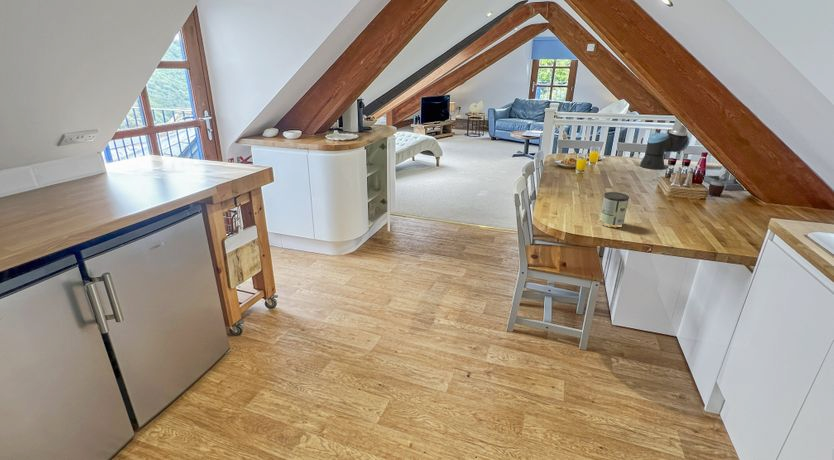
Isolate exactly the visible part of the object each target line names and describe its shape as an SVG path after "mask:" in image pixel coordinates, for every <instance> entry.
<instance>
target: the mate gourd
mask: <svg viewBox="0 0 834 460" xmlns="http://www.w3.org/2000/svg"><path fill="white" fill-rule="evenodd" d="M726 173H728V172H726ZM726 173H724V174H723V175H722V177H723V176H724V175H725V174H726ZM722 177H721V178H720V180H719V181H712V182H711V183H710V184H709V185H708V193H707V195H709V196H710V197H717V198H721V196H722V194H723V192H724V191H725V190H724V186H725V184H724V182H722V181H721V179H722Z"/></svg>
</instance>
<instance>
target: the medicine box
mask: <svg viewBox="0 0 834 460" xmlns="http://www.w3.org/2000/svg"><path fill="white" fill-rule="evenodd" d="M726 172H728V171H727V170H726V169H725V168H724V167H723V166H721V169H720V173H719V175H718V176H719V178H721V177H722V175H723V174H724V173H726ZM729 175H730V173H729V172H728V173H726V174H725V175H724V176H723V177H722V179H729ZM734 180H736V179H735V178H734Z"/></svg>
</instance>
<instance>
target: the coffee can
mask: <svg viewBox="0 0 834 460" xmlns="http://www.w3.org/2000/svg"><path fill="white" fill-rule="evenodd" d="M629 199H630V196H629V195H628V194H625V193H622V192H617V191H610V192H609V191H608V192H605V193H604V194H603V200H602V207H601V213H600V217H599V221H600V220H601V221H603V222H604V223H607V224H613V225H622V224H623V225H624V223H625V218H626V213H627V208H628V203H629Z"/></svg>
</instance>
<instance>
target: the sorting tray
mask: <svg viewBox="0 0 834 460" xmlns="http://www.w3.org/2000/svg"><path fill="white" fill-rule="evenodd" d="M704 176H705V178H704V183H706V184H709V185H710V183H711V182H712V181H719V180H720V178H719V175H704ZM721 181H722V182H724V184H725V186H724V190H723V191H745V190H744V188H743V187H742V186H741V184H739V183H738V182H737V181H736V180H729V179H721Z"/></svg>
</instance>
